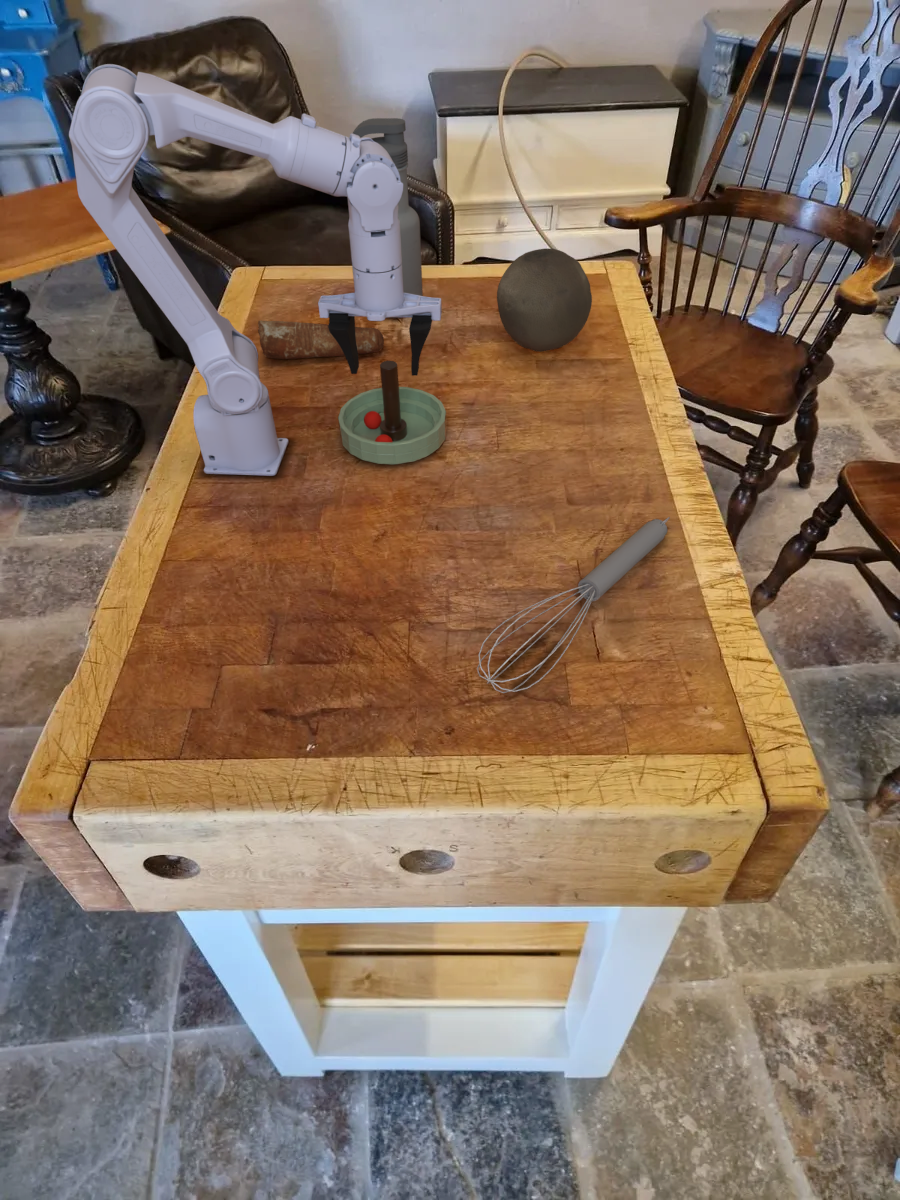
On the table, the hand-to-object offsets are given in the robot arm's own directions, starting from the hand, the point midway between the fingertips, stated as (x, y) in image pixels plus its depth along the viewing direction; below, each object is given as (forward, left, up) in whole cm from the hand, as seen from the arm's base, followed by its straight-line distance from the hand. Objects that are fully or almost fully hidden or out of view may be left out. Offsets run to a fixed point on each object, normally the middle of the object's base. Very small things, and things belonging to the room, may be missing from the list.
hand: (385, 370), depth 101 cm
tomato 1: (-3, +2, -8) cm, 9 cm away
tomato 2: (0, -4, -8) cm, 9 cm away
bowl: (0, +1, -10) cm, 10 cm away
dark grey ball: (+20, +26, -10) cm, 34 cm away
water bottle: (-5, +40, -10) cm, 41 cm away
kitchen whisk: (+24, -30, -10) cm, 40 cm away
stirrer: (0, 0, -10) cm, 10 cm away
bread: (-13, +23, -10) cm, 29 cm away
